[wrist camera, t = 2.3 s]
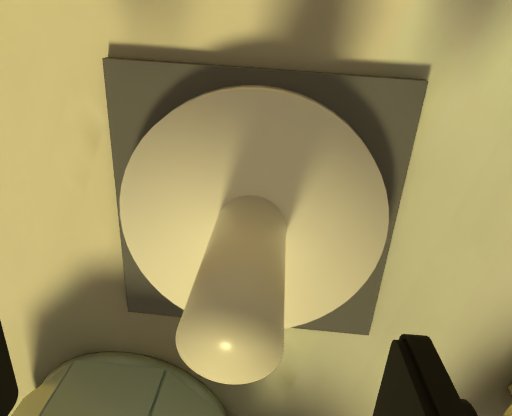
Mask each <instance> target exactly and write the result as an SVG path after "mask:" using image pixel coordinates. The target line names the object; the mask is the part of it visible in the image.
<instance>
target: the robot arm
mask: <svg viewBox="0 0 512 416" xmlns="http://www.w3.org/2000/svg"><path fill="white" fill-rule="evenodd" d="M17 398H18V387H17V383H16V379H15V375H14V371H13V368H12V364H11V360H10V356H9V352H8V348H7V344H6V340H5V337H4V333H3V329H2V325H1V321H0V416H8V414H9V413H10V411H11V410H12V408H13V407H14V405H15V403H16V401H17ZM373 416H478V415H477V413H476V411H475V410H474V408H473V407H472V405H471V404H470V403H469V402H468V401H467V400H465V399H460V397H459V395H458V393H457V391H456V389H455V387H454V385H453V383H452V381H451V379H450V377H449V375H448V373H447V371H446V369H445V367H444V365H443V363H442V361H441V359H440V357H439V355H438V353H437V351H436V349H435V347H434V345H433V343H432V341H431V339H430V338H429V337H428V336H422V335H409V334H402V335H401V336H400V338H399V340H393V341H392V343H391V347H390V351H389V355H388V359H387V362H386V366H385V370H384V374H383V378H382V382H381V386H380V390H379V393H378V397H377V401H376V405H375V409H374V413H373Z"/></svg>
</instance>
